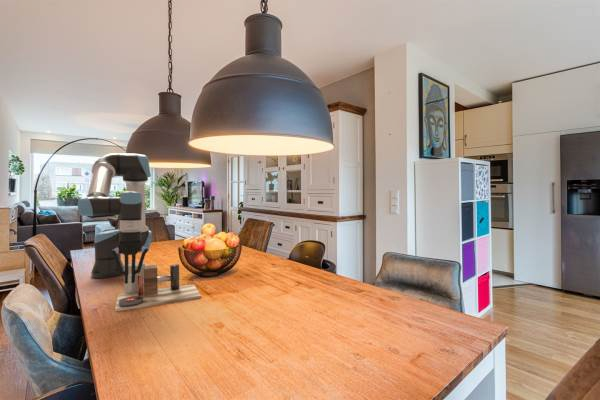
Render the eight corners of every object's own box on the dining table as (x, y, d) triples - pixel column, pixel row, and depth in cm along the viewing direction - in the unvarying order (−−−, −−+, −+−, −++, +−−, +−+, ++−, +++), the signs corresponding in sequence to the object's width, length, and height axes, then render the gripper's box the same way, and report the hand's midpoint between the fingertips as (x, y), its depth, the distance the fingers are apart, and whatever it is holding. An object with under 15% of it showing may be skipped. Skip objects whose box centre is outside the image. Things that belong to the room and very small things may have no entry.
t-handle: (140, 292, 128) (139, 268, 128) (179, 286, 135) (178, 264, 135) (140, 294, 125) (139, 270, 124) (179, 289, 132) (179, 265, 132)
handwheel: (133, 296, 122) (133, 274, 122) (151, 298, 120) (150, 275, 120) (113, 305, 112) (113, 281, 112) (132, 307, 111) (131, 282, 111)
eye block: (118, 296, 126) (117, 268, 126) (194, 286, 140) (193, 260, 140) (115, 311, 110) (114, 278, 110) (200, 298, 124) (200, 268, 124)
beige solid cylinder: (120, 292, 132) (119, 265, 131) (137, 287, 139) (137, 261, 139) (132, 295, 128) (131, 267, 128) (149, 290, 135) (149, 263, 135)
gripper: (110, 232, 112) (109, 296, 112) (148, 231, 118) (147, 292, 118) (112, 230, 119) (111, 290, 119) (148, 229, 125) (147, 287, 125)
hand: (129, 291), depth 118 cm, fingers closed
